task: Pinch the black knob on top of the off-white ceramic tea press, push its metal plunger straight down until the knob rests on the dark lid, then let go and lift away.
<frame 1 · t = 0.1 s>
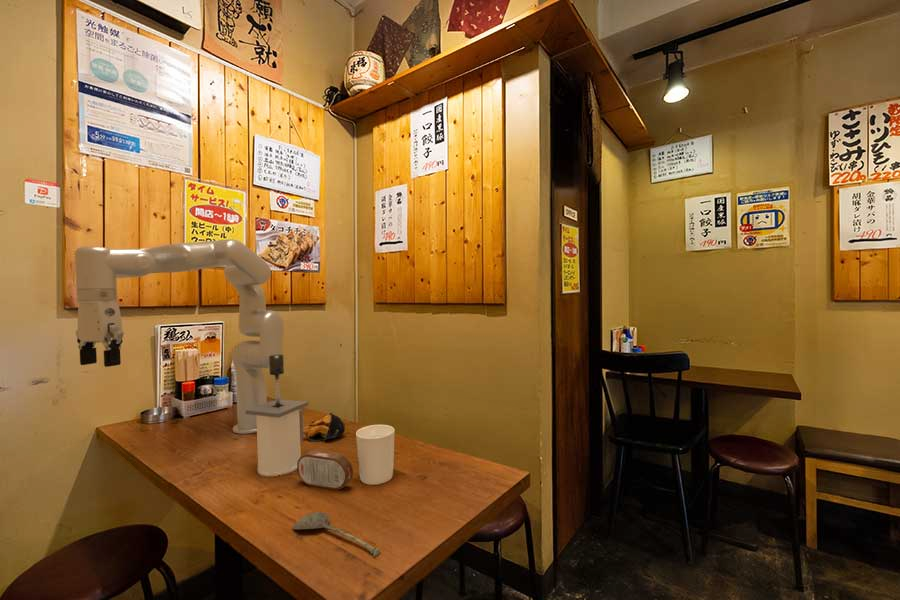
hand: (100, 364, 97), 31 cm above the table, tool pointing down, fingers open, 9 cm apart
fried food: (316, 439, 127), on the table
tea press: (280, 466, 107), on the table
soupspoon: (335, 539, 76), on the table
tin: (324, 487, 96), on the table
plunger: (277, 385, 107), point 23 cm above the table, slide at 0.0 cm
candle holder: (376, 477, 100), on the table
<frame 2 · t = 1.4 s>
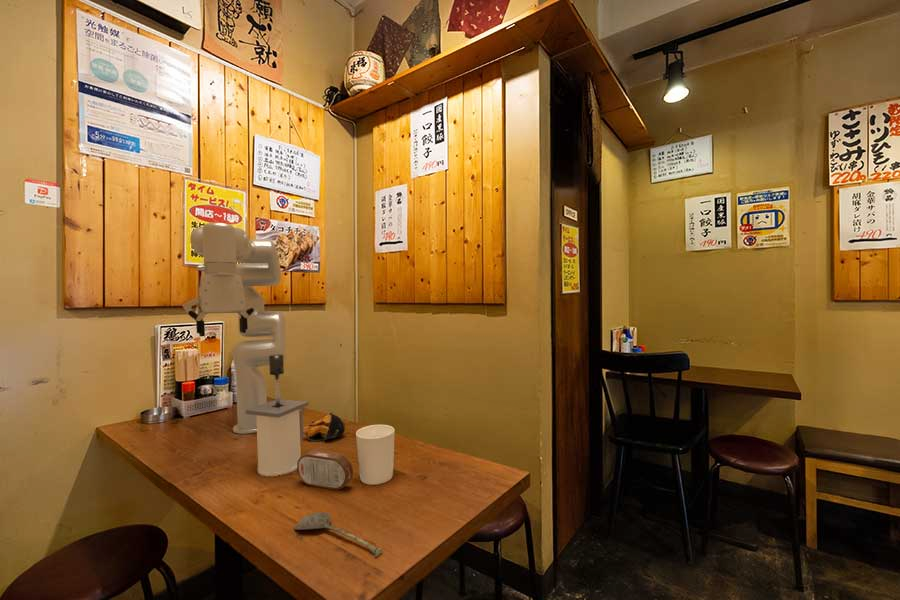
hand: (223, 334, 103), 38 cm above the table, tool pointing down, fingers open, 9 cm apart
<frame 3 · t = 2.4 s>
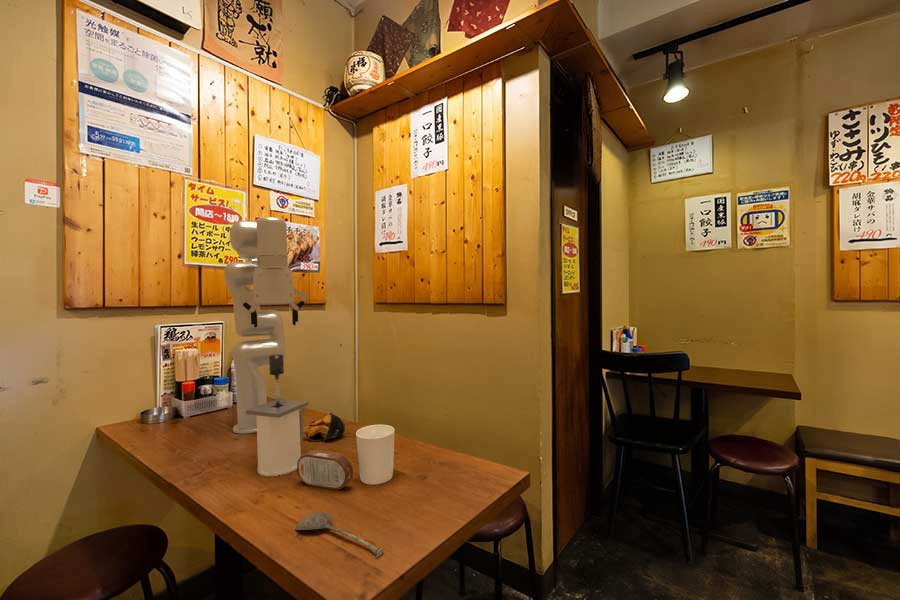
hand: (275, 325, 106), 39 cm above the table, tool pointing down, fingers open, 9 cm apart
nothing on the table moved.
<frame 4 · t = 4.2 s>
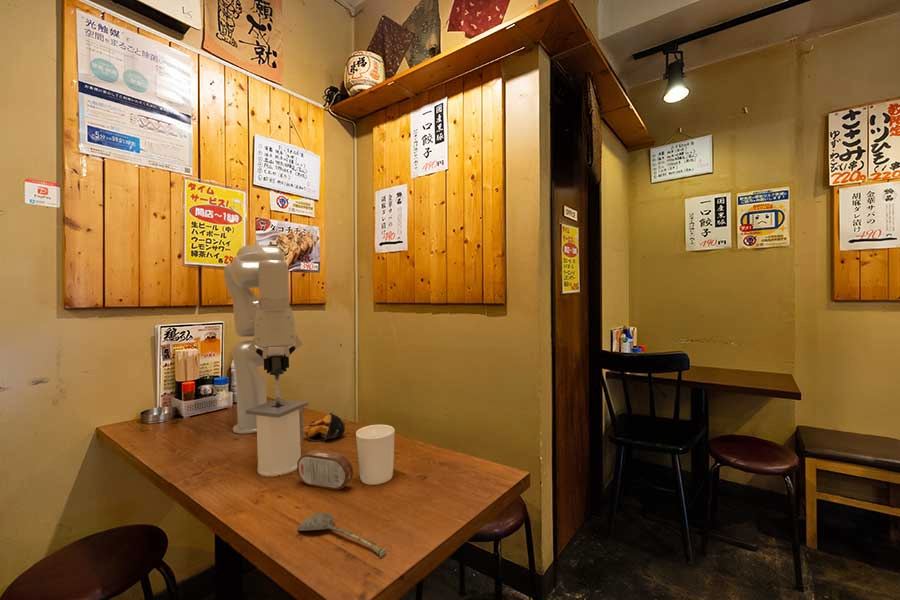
hand: (276, 370, 107), 27 cm above the table, tool pointing down, fingers closed on plunger, 3 cm apart
plunger: (277, 385, 107), point 23 cm above the table, slide at 0.0 cm, touching gripper
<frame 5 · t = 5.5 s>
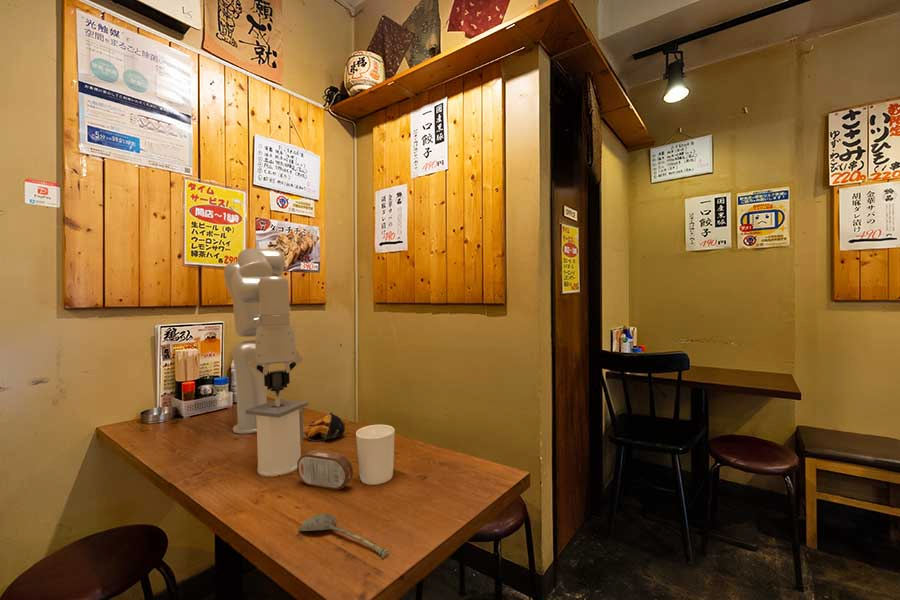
hand: (277, 386, 107), 22 cm above the table, tool pointing down, fingers closed on plunger, 3 cm apart
plunger: (277, 401, 107), point 18 cm above the table, slide at 4.5 cm, touching gripper
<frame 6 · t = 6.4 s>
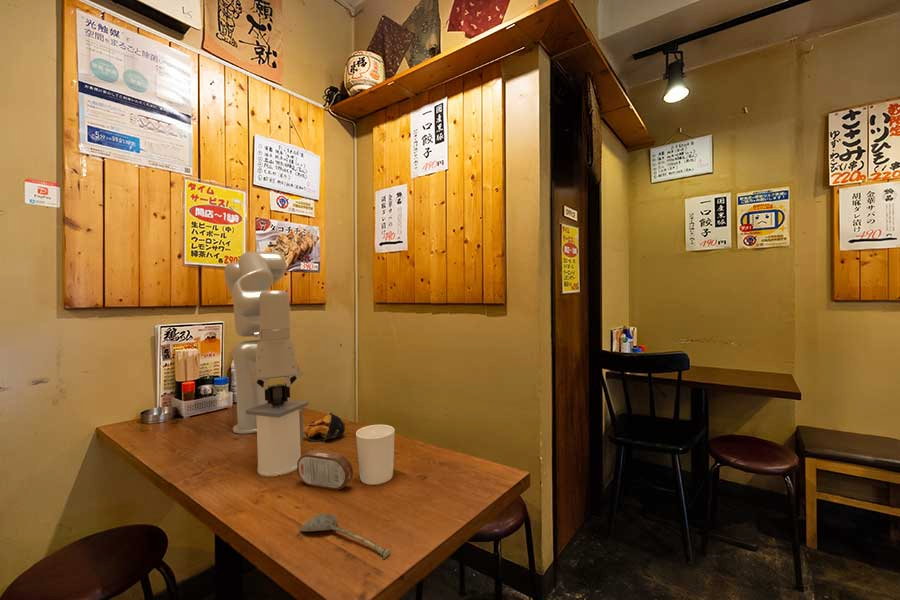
hand: (277, 400, 107), 18 cm above the table, tool pointing down, fingers closed on plunger, 3 cm apart
plunger: (278, 415, 107), point 14 cm above the table, slide at 8.4 cm, touching gripper
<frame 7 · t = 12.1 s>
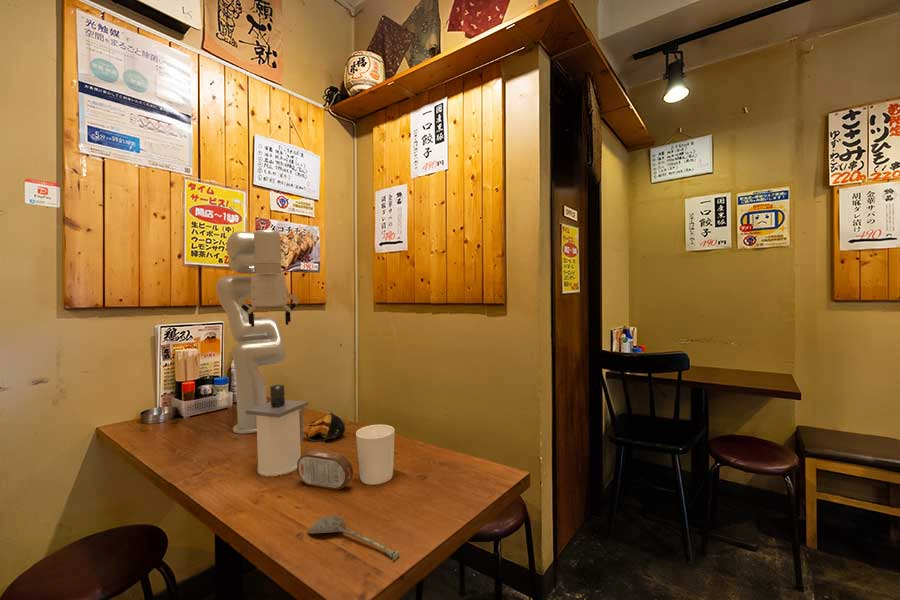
hand: (270, 325, 120), 38 cm above the table, tool pointing down, fingers open, 9 cm apart
soupspoon: (351, 543, 74), on the table
plunger: (278, 416, 107), point 14 cm above the table, slide at 8.5 cm
everything else where it was.
at the end: plunger slide at 8.5 cm; the gripper is holding nothing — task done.
